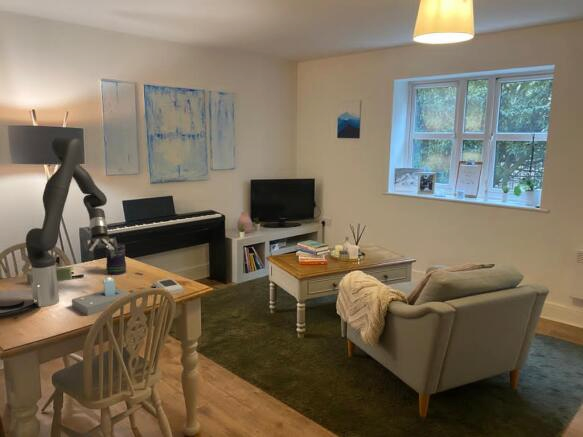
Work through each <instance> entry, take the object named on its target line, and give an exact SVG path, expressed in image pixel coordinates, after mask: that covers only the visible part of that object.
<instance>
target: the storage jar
mask: <svg viewBox="0 0 583 437" xmlns="http://www.w3.org/2000/svg"><path fill="white" fill-rule="evenodd" d="M110 244H111V246H112V247H114V244H113V243H110ZM117 245H118V248H117V250H115V251H114V254H115V256H114V257H113V259H111V251H110V250H109V249H107V248H106V247H105V248H104V249H105V251H104V252H105V257H106V263H105V264H106V267H105V268H106V274H107V275H108V276H120V275H123V274H126V273H127V262H126V247H125V243H122V242H120V243H119V242H117Z"/></svg>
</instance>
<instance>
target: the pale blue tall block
mask: <svg viewBox="0 0 583 437" xmlns="http://www.w3.org/2000/svg"><path fill="white" fill-rule="evenodd" d="M102 281H103V291H104V296H105V297H109V296H113V295H115V287H116V286H115V285H116V284H115V279H114V277H106V278H103V279H102Z"/></svg>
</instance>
